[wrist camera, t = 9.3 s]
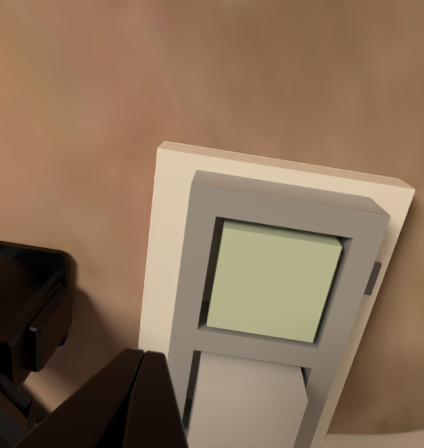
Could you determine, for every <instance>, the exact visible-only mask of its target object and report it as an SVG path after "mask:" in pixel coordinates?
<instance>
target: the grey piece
mask: <svg viewBox="0 0 424 448" xmlns="http://www.w3.org/2000/svg"><path fill="white" fill-rule="evenodd" d="M415 190H416V189H414V188H413V187H411V186H409V185H408V184H406V183H405V182H403V181H402V180H400V179H399V178H394V177H387V176H381V175H375V174H369V173H362V172H356V171H350V170H344V169H338V168H331V167H325V166H319V165H313V164H307V163H300V162H294V161H288V160H282V159H276V158H269V157H263V156H257V155H251V154H245V153H238V152H232V151H226V150H220V149H213V148H207V147H201V146H195V145H189V144H182V143H176V142H170V141H164V142H163V143H162V144H161V145H160V146H159V147H158V148H157V159H156V169H155V179H154V190H153V200H152V210H151V220H150V231H149V241H148V251H147V262H146V272H145V282H144V293H143V303H142V313H141V323H140V334H139V344H138V349H143V350H144V351H145V352H146V351H148V350H150V351H157V352H163V353H164V354H165V356H166V359H167V363H168V367H169V371H170V375H171V379H172V383H173V387H174V391H175V395H176V399H177V403H178V407H179V411H180V414H181V418H182V422H183V426H184V430H185V434H186V438H187V434H188V426H189V418H190V413H191V407H192V401H193V395H194V390H195V384H196V378H197V373H198V367H199V361H200V355H201V351H204V352H211V353H217V354H223V355H230V356H236V357H243V358H249V359H255V360H262V361H268V362H274V363H281V364H287V365H294V366H300V368H301V372H302V376H303V381H304V385H305V390H306V394H307V398H308V403H307V406H306V409H305V412H304V415H303V419H302V422H301V425H300V428H299V431H298V434H297V437H296V440H295V443H294V446H293V448H321V447H322V444H323V442H324V439H325V436H326V433H327V431H328V428H329V425H330V422H331V420H332V417H333V414H334V411H335V409H336V406H337V403H338V401H339V398H340V395H341V392H342V390H343V387H344V384H345V381H346V379H347V376H348V373H349V370H350V368H351V365H352V362H353V359H354V357H355V354H356V351H357V349H358V346H359V343H360V340H361V338H362V335H363V332H364V329H365V327H366V324H367V321H368V318H369V316H370V313H371V310H372V308H373V305H374V302H375V299H376V297H377V294H378V291H379V288H380V286H381V283H382V280H383V277H384V275H385V272H386V269H387V267H388V264H389V261H390V258H391V256H392V253H393V250H394V247H395V245H396V242H397V239H398V236H399V234H400V231H401V228H402V226H403V223H404V220H405V217H406V215H407V212H408V209H409V206H410V204H411V201H412V198H413V195H414V193H415ZM223 217H224V218H230V219H236V220H243V221H249V222H255V223H261V224H268V225H274V226H280V227H287V228H293V229H299V230H305V231H312V232H318V233H324V234H330V235H335V236H336V238H337V239H338V241H339V243H340V244H341V246H342V249H341V252H340V255H339V259H338V262H337V265H336V268H335V272H334V275H333V278H332V281H331V285H330V288H329V291H328V294H327V298H326V301H325V304H324V307H323V310H322V314H321V317H320V320H319V323H318V327H317V330H316V333H315V336H314V340H313V343H311V342H304V341H298V340H292V339H285V338H279V337H273V336H266V335H260V334H254V333H247V332H241V331H234V330H228V329H222V328H215V327H209V326H207V316H208V307H209V297H210V291H211V285H212V280H213V274H214V268H215V262H216V257H217V251H218V245H219V239H220V234H221V228H222V222H223Z"/></svg>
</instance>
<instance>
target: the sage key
mask: <svg viewBox="0 0 424 448" xmlns="http://www.w3.org/2000/svg"><path fill="white" fill-rule="evenodd" d="M341 249H342V246H341V244H340V243H339V241H338V239H337V238H336V236H335V235H330V234H324V233H318V232H312V231H305V230H299V229H293V228H287V227H280V226H274V225H268V224H261V223H255V222H249V221H243V220H236V219H230V218H224V217H223V222H222V228H221V234H220V239H219V245H218V251H217V257H216V262H215V268H214V274H213V280H212V285H211V291H210V297H209V307H208V316H207V326H209V327H215V328H222V329H228V330H234V331H241V332H247V333H254V334H260V335H266V336H273V337H279V338H285V339H292V340H298V341H304V342H311V343H313V340H314V336H315V333H316V330H317V327H318V323H319V320H320V317H321V314H322V310H323V307H324V304H325V301H326V298H327V294H328V291H329V288H330V285H331V281H332V278H333V275H334V272H335V268H336V265H337V262H338V259H339V255H340V252H341Z"/></svg>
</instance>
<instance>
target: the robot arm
mask: <svg viewBox="0 0 424 448" xmlns="http://www.w3.org/2000/svg"><path fill="white" fill-rule="evenodd" d="M56 257H58V258H60V259H61V262H59V261H57V260H56ZM68 275H69V259H68V256H67V254H66V253H65V252H64V251H61V250H55V249H49V248H43V247H36V246H30V245H24V244H17V243H11V242H5V241H0V448H189V446H188V442H187V438H186V434H185V430H184V426H183V422H182V418H181V414H180V411H179V407H178V403H177V399H176V395H175V391H174V387H173V383H172V379H171V375H170V371H169V367H168V363H167V359H166V356H165V354H164V353H163V352H157V351H150V350H148V351H146V352H145V351H144V350H143V349H137V348H131V347H126V348H124V349H123V350H122V351H121V352H120V353H119V354H117V355H116V356H115V357H114V358H113V359H112V360H111V361H110V362H108V363H107V364H106V365H105V366H104V367H103V368H102V369H100V370H99V371H98V372H97V373H96V374H95V375H94V376H92V377H91V378H90V379H89V380H88V381H87V382H86V383H84V384H83V385H82V386H81V387H80V388H79V389H78V390H76V391H75V392H74V393H73V394H72V395H71V396H70V397H68V398H67V399H66V400H65V401H64V402H63V403H62V404H61V405H59V406H58V407H57V408H56V409H55V410H54V411H53V412H51V413H50V414H49V415H48V416H47V417H46V418H45V419H43V420H42V421H41V422H40V423H39V424H38V425H37V426H35V423H36V419H37V416H38V412H39V407H38V406H37V405H36V404H35V403H34V402H33V401H32V400H31V401H29V400H28V399H27V398H26V397H25V396H24V395H23V394H22V393H21V391H20V390H19V389H20V387H21V386H22V384H23V383H24V381H25V380H26V378H27V377H28V375H29V374H30V372H31V371H33V372H39V371H40V370H42V369H43V368H44V366H45V365H46V363H47V362H48V360H49V358H50V357H51V355H52V354H53V352H54V351H55V349H56V348H57V346H62V345H63V344H64V343H65V342H66V340H67V338H68V329H69V327H70V326H71V324H72V289H71V287H70V286H68Z"/></svg>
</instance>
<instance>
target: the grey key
mask: <svg viewBox="0 0 424 448" xmlns="http://www.w3.org/2000/svg"><path fill="white" fill-rule="evenodd" d="M307 403H308V398H307V394H306V390H305V385H304V381H303V376H302V372H301V368H300V366H294V365H287V364H281V363H274V362H268V361H262V360H255V359H249V358H243V357H236V356H230V355H223V354H217V353H211V352H204V351H201V355H200V361H199V367H198V373H197V378H196V384H195V390H194V395H193V401H192V407H191V413H190V418H189V426H188V434H187V442H188V446H189V448H293V446H294V443H295V440H296V437H297V434H298V431H299V428H300V425H301V422H302V419H303V415H304V412H305V409H306V406H307Z"/></svg>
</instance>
